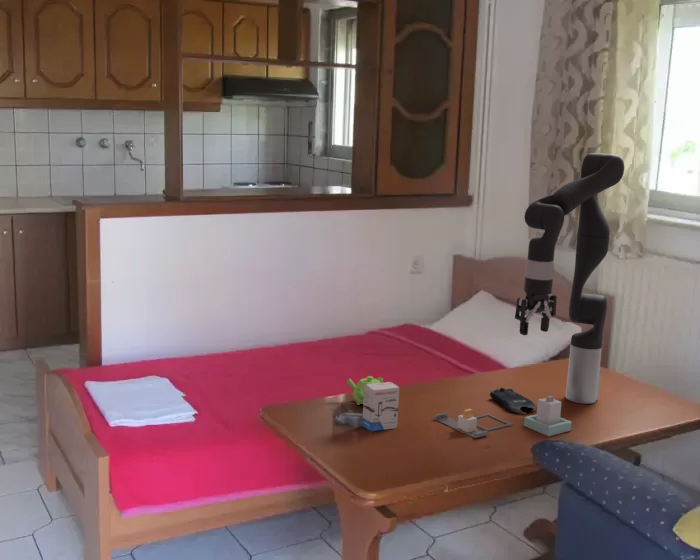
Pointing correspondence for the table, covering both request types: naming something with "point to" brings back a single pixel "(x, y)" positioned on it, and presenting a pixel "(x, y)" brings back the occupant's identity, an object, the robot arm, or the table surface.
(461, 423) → the latch tab
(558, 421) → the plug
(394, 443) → the table surface
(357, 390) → the teapot
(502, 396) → the electronic device
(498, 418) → the grey square frame
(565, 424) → the teal square tray
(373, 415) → the ink box
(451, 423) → the latch rail
